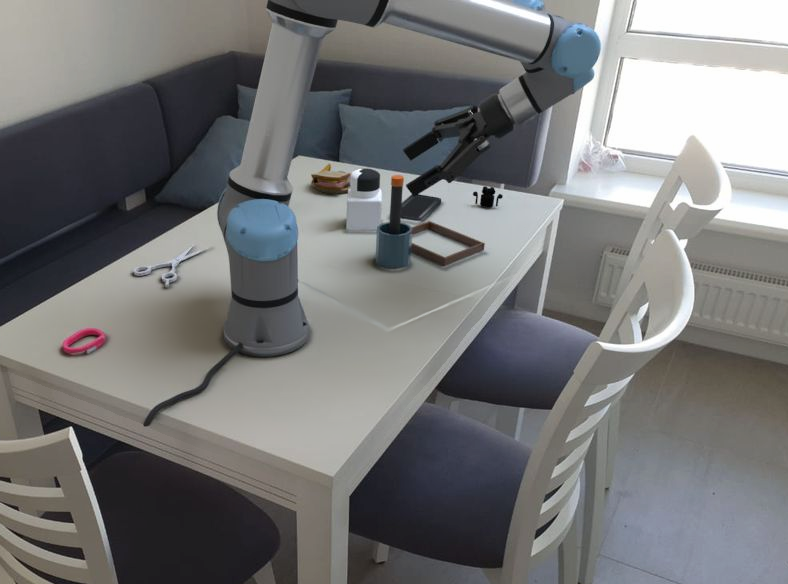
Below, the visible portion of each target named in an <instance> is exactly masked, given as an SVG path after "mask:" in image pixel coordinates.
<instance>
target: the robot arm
mask: <svg viewBox="0 0 788 584" xmlns="http://www.w3.org/2000/svg"><path fill="white" fill-rule="evenodd" d="M265 10H266V13H267V14H268V17H269V19H270V20H271V28H270V33H269V38H268V42H267V45H266V50H265V55H264V59H263V64H262V68H261V73H260V77H259V81H258V85H257V90H256V95H255V99H254V103H253V108H252V113H251V116H250V120H249V121H250V122H249V124H248V125H249V126H248V129H247V134H246V138H245V143H244V148H243V152H242V156H241V160H240V164H239V165H238V166H237V167H235V168H233V169H232V170H230V172H229V174H228V180H227V183H226V187H225V188H224V190H223V191H222V193H221V195H220V197H219V200H218V203H217V211H216V216H217V222H218V226H219V228H220V232H221V235H222V238H223V241H224V244H225V247H226V252H227V256H228V262H229V263H228V264H229V278H230V280H229V281H230V291H231V292H230V293H231V294H230V295H231V300H230V303H229V307H228V310H227V314H226V318H225V320H224V323H223V339H224V342H225V343H226V345H227V346H228V347H229V348H231V350H230V351H229V352H228V353H227V354H225V356H223V357H222V358H221V359H220V360H219V361H218V362H217V363H216V364H215V365H213V366H212V367H211V368H210V369H209V371H208V372H207V373H206V375H205V377H204V379H203V381H202V382H201V384H199V386H197V387H195V388H192V389H190V390H186V391H183V392H181V393H178V394H176V395H174V396H172V397H170V398H168V399H166V400H163V401H162V402H159V403H157V404H156V405H155V406H154V407H153V408H152V409H151V410H150V412H149V413H148V414H147V416H146V417H145V420H144V422H143V427H145V428H146V427H149V426H150V425H151V423H152V422H153V420H154V418H155V417H156V415H157V414H158V413H159V412H160V411H161V410H163V409H164V408H166V407H168V406H170V405H173V404H174V403H177V402H178V401H180V400H183V399H185V398H188V397H192V396H195V395H197V394H199V393H201V392H202V391H204V390H205V389H206V388H207V387H208V386H209V384H210V381H211V379H212V377H213V376H214V375H215V374H216V373H217V372H218V371H219V370H220V369H221V368H222V367H223V366H224V365H225V364H227V363H228V362H229V361H230V360H231V359H232V358H233V357H234V356H235V355H236V354H237V353H240V354H243V355H246V356H252V357H261V358H262V357H263V358H264V357H266V358H267V357H277V356H282V355H285V354H290V353H292V352H294V351H296V350H298V349H300V348H302V347H303V346H304V345H305V344H306V342H307V341H308V339H309V336H310V335H309V334H310V326H309V321H308V317H307V315H306V314H305V310H304V307H303V305H302V302H301V299H300V297H299V269H298V267H299V265H298V263H299V262H298V259H299V258H298V254H299V253H298V240H299V226H298V223H297V217H296V214H295V212H294V211H293V210H292V208H290V202H291V198H292V194H293V191H294V187H293V185H292V183H291V182H290V180H289V178H288V176H289V173H290V168H291V164H292V160H293V157H294V152H295V149H296V146H297V141H298V138H299V134H300V130H301V126H302V123H303V118H304V114H305V110H306V107H307V102H308V100H309V95H310V92H311V87H312V84H313V81H314V80H313V79H314V76H315V72H316V68H317V64H318V61H319V57H320V52H321V49H322V45H323V41H324V38H325V37H326V36H327V35H329V34H331V33H332V32H334V31H335V30H336V28H337V25H338V22H339V21H343V22H349V23H353V24H358V25H363V26H366V27H369V28H377V27H378V26H380V25H381V24H383V23H384V24H388V25H390V26H394V27H397V28H401V29H406V30H408V31H412V32H415V33H419V34H422V35H426V36H429V37H433V38H436V39H439V40H442V41H443V40H444V41H447V42H450V43H454V44H458V45H461V46H463V47H464V46H465V47H468V48H472V49H475V50H479V51H482V52H485V53H489V54H493V55H497V56H499V57H503V58H507V59H510V60H514V61H517V62H519V63H520V64H521V66H522V68H523V70H524V71H525V73H522V75H520V76H518V77H517V78H515V79H513V80H512V81H510V82H509V83H507V84H506V85H504V86H503V87H500V88H499V91H498V93H492V94H490V95H489V96H488V97H486V98H485V99H482V101H480V102H479V104H477V103H475V104H472V105H470V106H469V107H468V108H465V109H463V110H461V111H458V112H454V113H453V114H450V115H447V116H445V117H441V118H439V119H437V120H435V121H433V125H434V126H433V127H432V128H431V130H430V131H429V132H427V133H426V134H424V135H423V136H420V138H418V139H416V140H415V141H414V142H412V143H410V144H409V145H407V146H406V147H403V149H402V151H403V153H404V154H405V156H406V157H407V158H408V159H409V161H410V162H411V161H413V160H415V159H417V158H418V157H419V156H421V155H422V154H424V153H425V152H427V151H428V150H430V149H432V148H433V147H435V146H436V145H438V144H439V143H442V141H443V140H445V139H451V138H457V137H458V142H457V145H455V147H454V148H453V149H452V150H451V152H450V153H448V155H447V156H446V158H445V159H444V160H443V161H442V162H441V164H439V165H438V164H437V165H436V164H435V165H434V166H433V167H432V168H430V169H429V170H427V171H425V172H423V174H420V175H419V176H418V177H415V178H414V179H413V180H411V181H409V182H408V183H405V187H406V189H407V190H408V191H409V193H410V195H413V196H414V197H415V196H416V195H418V194H419V195H420V194H421V193H423V192H425V191H426V190H428V189H429V188H431V187H432V186H434V185H435V184H438V183H439V182H441V181H442V180H444V181H446V183H448V184H451V183H452V182H453V181H455V180H456V179H457V178H458V177H459V176H460V175H461V174H462V173H463V172H464V171H465V170H466V169H467V168H468V167H469V166H471V165H472V164H473V162H474V161H475V160H477V159H478V158H479V157H480V156H481V155H482V154H484V153H485V152H487V151H488V150H490V149H491V147H492V146H491V144H490V142H489V140H488V139H489V138H491V137H492V136H493V137H495V138H496V139H501V138H504V137H505V136H506V135H508V134H510V133H512V132H513V131H514V130H515V128H516V125H517V126H519V127H520V126H522V125H523V124H525V123H527V122H529V121H530V120H534V119H535V118H536V117H537V116H538V115H540V114H541V113H543V112H545V111H547V110H548V109H550V108H552V107H553V106H555V105H556V104H558V103H559V102H561V101H563V100H565V99H566V98H568V97H569V96H571V95H575V94H576V93H577V92H578V91H579V90H581V89H583V88H584V87H585V86H587V85H588V84H589V83H591V82H592V81H593V80H594V78H595V70H594V67H595V65H596V64H597V61H598V60H599V57H600V54H601V49H602V48H601V47H602V45H601V44H602V43H601V39H600V36H599V35H598V33H597V32H596V31H595V30H594V29H593V28H591V27H589V26H588V25H587V24H585V23H581V22H577V21H574V20H570V19H568V18H564V17H563V16H560V15H558V14H555V13H551V12H549V11H548V10H547V8H546V6H545V2H543V1H542V0H510V1H509V0H267V3H266V7H265Z"/></svg>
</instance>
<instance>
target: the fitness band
mask: <svg viewBox="0 0 788 584" xmlns="http://www.w3.org/2000/svg"><path fill="white" fill-rule="evenodd" d="M91 335H92V336H98V337H96V338H95V339H94V340H92V341H91V342H89V343H87V344H85V345H83V346H80V347H79V346H78V347H71V345H72V344H73V343H75V342H77V341H78V340H80V339H82V338H84V337H86V336H91ZM106 340H107V338H106V334H105V333H104V332H103V331H102V330H100V329H98V328H96V327H87V328H83V329H80V330H78V331H76V332H74V333H73V334H71V335H70V336H68V337H66V339H64V340H63V342H62V350H63V352H64V353H66V354H79V353H83V352H85V354H87V355H89V354H91V353H92V352H94V351H96V350H97V349H99V348H100V347H101V346H102V345H104V344H105V342H106Z"/></svg>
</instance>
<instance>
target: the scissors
mask: <svg viewBox="0 0 788 584" xmlns="http://www.w3.org/2000/svg"><path fill="white" fill-rule="evenodd" d="M194 246H195V244H192V245H191V246H189V247H188V248H187V249H186V250H184V251H183V252H182V253H180V254H179V255H178V256H177V257H176V258H172V259H170V260H168V261H165V262H162V263H155V264H154V265H141V266H137V267H135V268H133V275H134V276H136V277H137V276H138V277H142V276H146V275H149V274H151V272H152V271H153V270H154V271H155V269H160V268H167V267H172V268H171V270H170V271H168V272H163V273H162V274H161V281H162V282H163V283H164V288H170V283H173V282H175V281H177V280H178V275H177V273H176V268H177V266H179V264H180V262H182V261H184V260H187V259H189V258H191V257H193V256H196V255H197V254H200V253H201V252H204V251H207V250H208V249H209V248H210V246H208V247H205V248H203V249H200V250H198V251H195V252H192V253H190V254H188V253H189V252H190V251H191V249H192V248H193V247H194ZM168 277H171V278H168Z"/></svg>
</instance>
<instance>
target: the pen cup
mask: <svg viewBox="0 0 788 584" xmlns="http://www.w3.org/2000/svg"><path fill="white" fill-rule="evenodd" d="M389 224H390V221H386V222H383V223H382V222H381V224H380V225H379V226H377V230H376V239H375V263H376V264H377V265H378V266H379V267H381V268H385V269H402V268H405V267H408V266H409V265H410V264H411V259H412V258H411V255H412V251H411V244H412V243H413V235H412V227H413V226H411V225H410V224H407V223H406V222H400V234H398V235H394V234H389Z"/></svg>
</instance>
